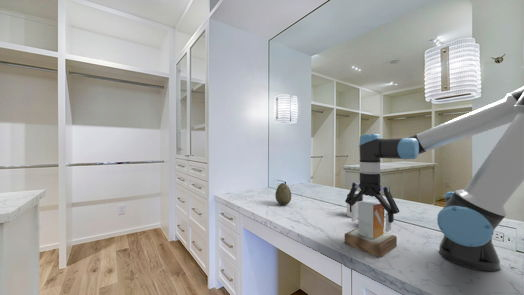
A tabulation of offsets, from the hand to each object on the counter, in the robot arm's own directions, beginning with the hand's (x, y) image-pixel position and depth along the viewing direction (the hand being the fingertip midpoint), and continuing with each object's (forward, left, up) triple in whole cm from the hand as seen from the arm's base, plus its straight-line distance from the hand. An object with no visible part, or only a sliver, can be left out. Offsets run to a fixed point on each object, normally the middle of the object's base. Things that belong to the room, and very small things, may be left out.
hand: (370, 225), depth 85 cm
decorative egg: (+64, -12, -8) cm, 66 cm away
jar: (+22, -28, -8) cm, 37 cm away
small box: (0, 0, -4) cm, 4 cm away
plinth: (0, 0, -8) cm, 8 cm away
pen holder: (+8, -20, -8) cm, 23 cm away
